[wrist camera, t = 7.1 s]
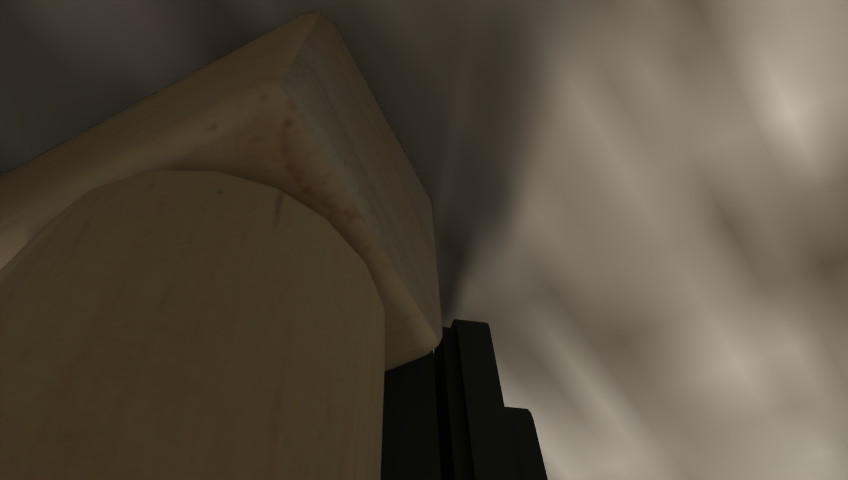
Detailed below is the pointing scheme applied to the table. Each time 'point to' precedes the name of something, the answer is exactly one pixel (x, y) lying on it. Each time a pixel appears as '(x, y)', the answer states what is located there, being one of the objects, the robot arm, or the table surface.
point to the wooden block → (216, 278)
